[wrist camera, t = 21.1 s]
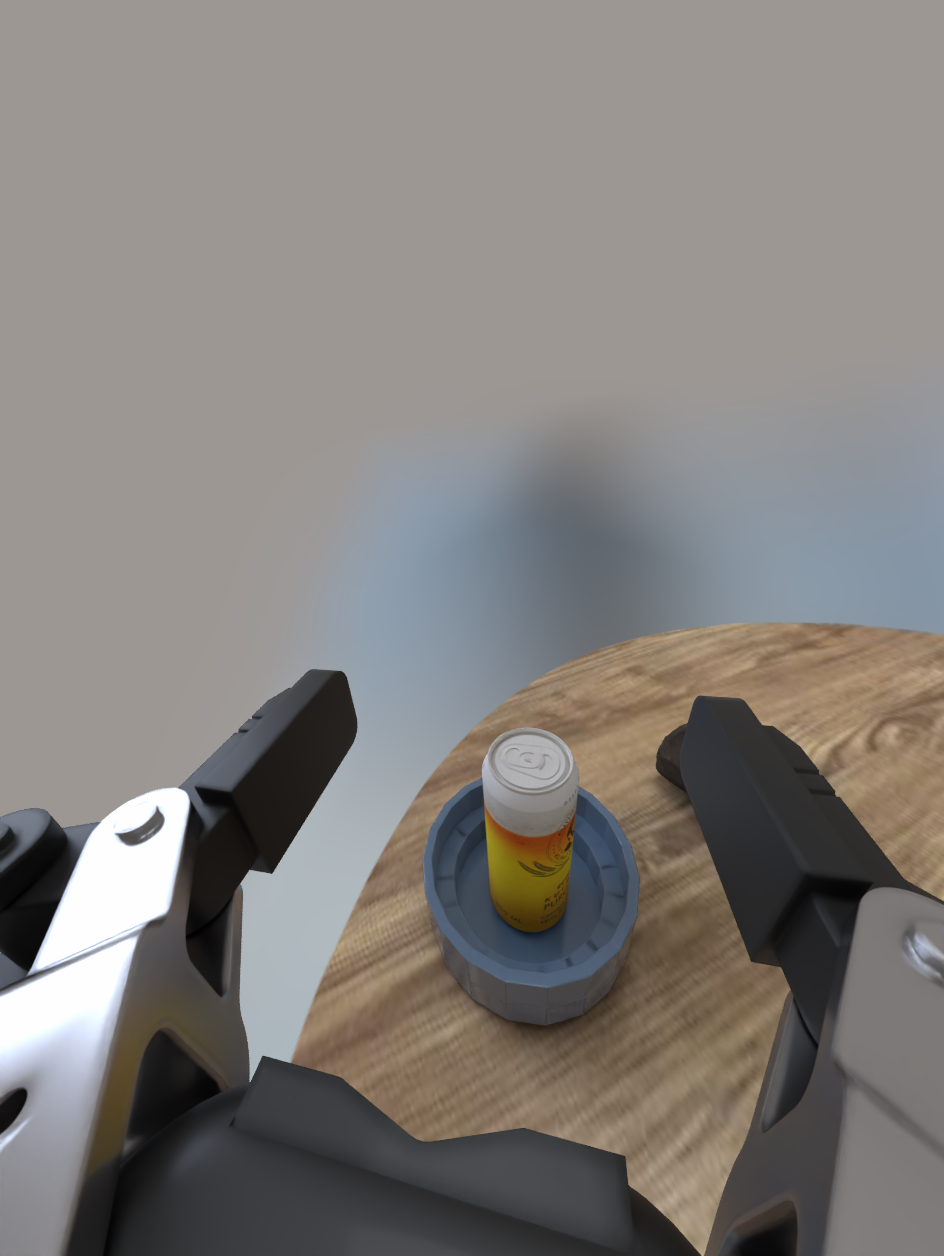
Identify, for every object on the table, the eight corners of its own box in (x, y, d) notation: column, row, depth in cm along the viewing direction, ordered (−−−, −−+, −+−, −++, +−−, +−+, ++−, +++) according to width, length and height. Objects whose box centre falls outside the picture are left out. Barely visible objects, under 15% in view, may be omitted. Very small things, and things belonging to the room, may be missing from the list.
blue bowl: (393, 956, 28) (379, 911, 25) (479, 793, 40) (476, 751, 37) (613, 1090, 22) (626, 1050, 19) (635, 848, 34) (645, 803, 31)
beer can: (561, 951, 27) (574, 810, 20) (480, 920, 29) (467, 783, 22) (571, 868, 32) (584, 733, 25) (502, 847, 34) (496, 716, 27)
